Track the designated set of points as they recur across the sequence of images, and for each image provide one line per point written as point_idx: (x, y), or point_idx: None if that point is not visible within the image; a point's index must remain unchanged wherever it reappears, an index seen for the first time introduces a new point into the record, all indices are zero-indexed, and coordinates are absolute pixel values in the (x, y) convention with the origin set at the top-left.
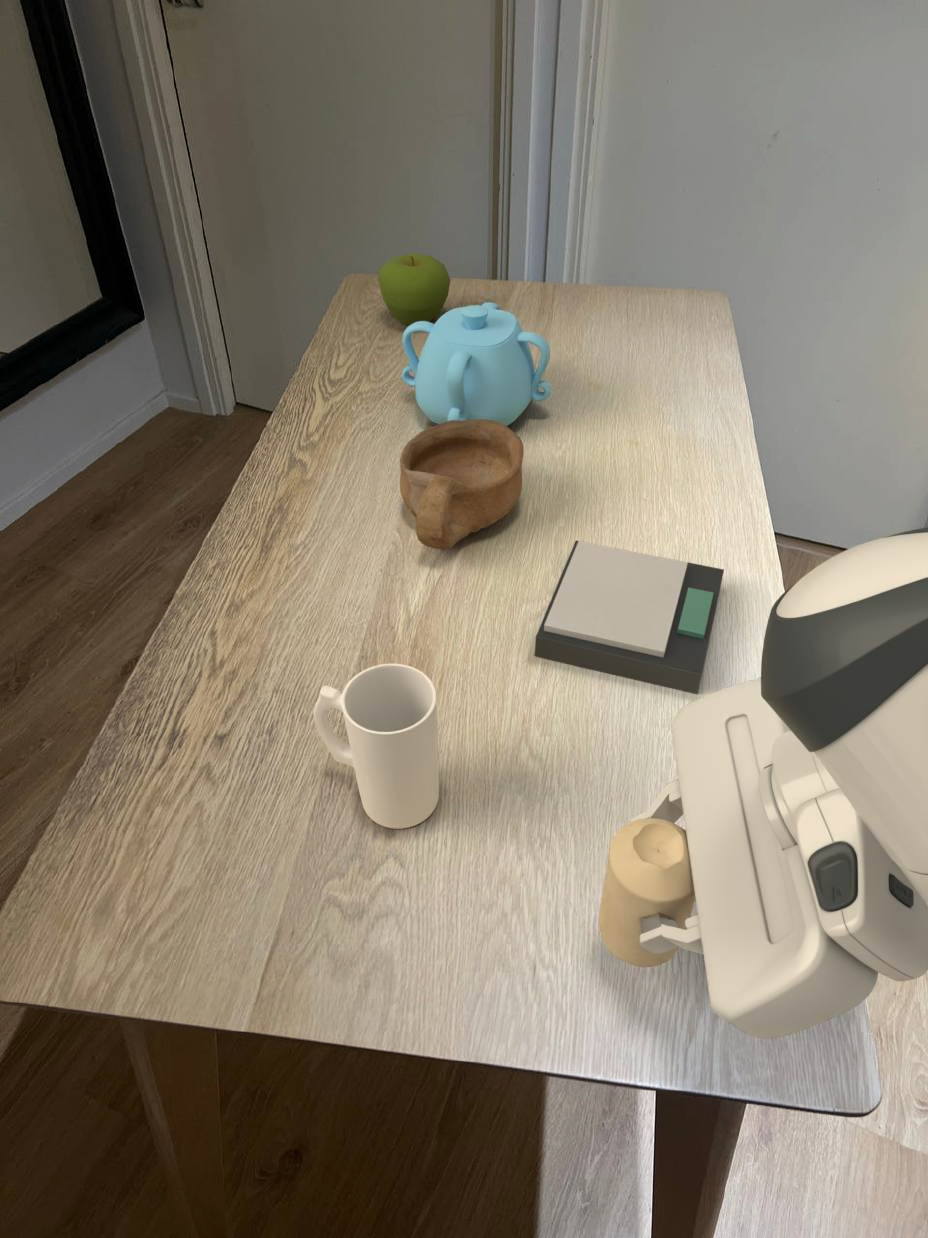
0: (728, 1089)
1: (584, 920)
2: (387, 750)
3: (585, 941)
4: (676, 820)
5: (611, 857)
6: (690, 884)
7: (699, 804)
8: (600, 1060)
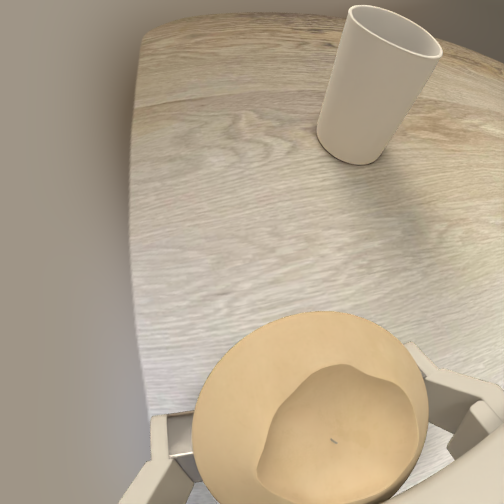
0: None
1: None
2: (349, 44)
3: None
4: (433, 423)
5: (285, 320)
6: None
7: (484, 502)
8: (150, 375)
